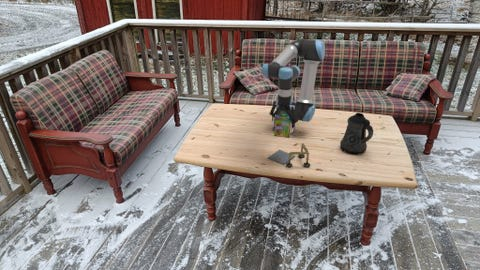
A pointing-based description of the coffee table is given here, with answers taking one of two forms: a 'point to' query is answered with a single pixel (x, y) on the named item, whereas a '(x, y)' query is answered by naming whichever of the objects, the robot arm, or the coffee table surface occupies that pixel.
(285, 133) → the chalk box
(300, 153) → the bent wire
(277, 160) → the slate pad
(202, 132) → the coffee table surface
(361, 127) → the beer stein
